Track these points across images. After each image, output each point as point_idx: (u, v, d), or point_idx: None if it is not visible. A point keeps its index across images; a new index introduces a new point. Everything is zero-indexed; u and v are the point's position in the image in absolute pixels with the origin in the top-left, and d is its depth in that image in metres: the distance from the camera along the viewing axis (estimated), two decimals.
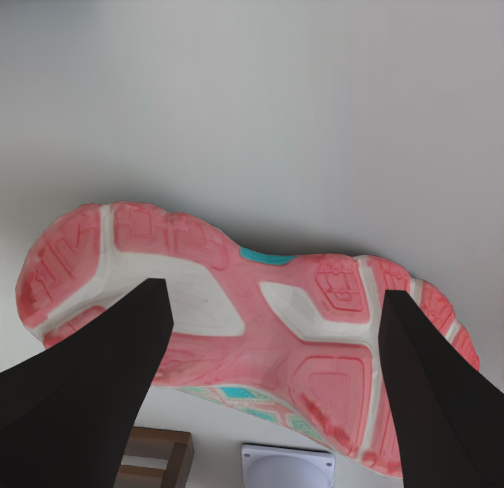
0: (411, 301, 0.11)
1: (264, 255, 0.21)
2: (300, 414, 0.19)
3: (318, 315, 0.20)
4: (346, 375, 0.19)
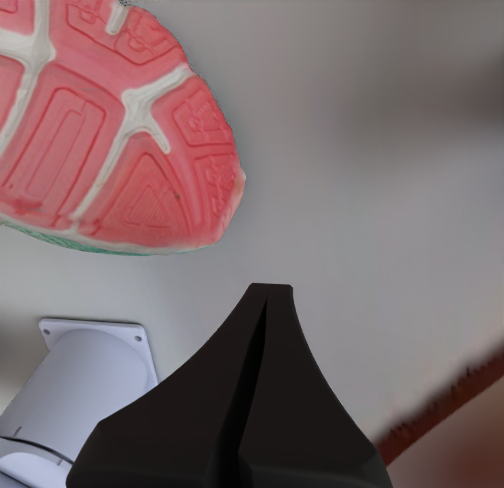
0: (287, 294, 0.12)
1: None
2: None
3: None
4: None
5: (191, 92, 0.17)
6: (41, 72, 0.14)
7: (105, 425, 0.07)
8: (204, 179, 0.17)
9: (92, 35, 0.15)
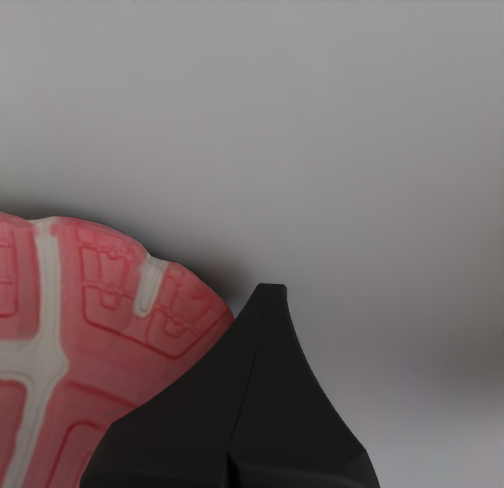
0: (280, 294, 0.12)
1: None
2: None
3: None
4: None
5: None
6: (50, 403, 0.11)
7: (118, 427, 0.07)
8: None
9: (117, 327, 0.12)
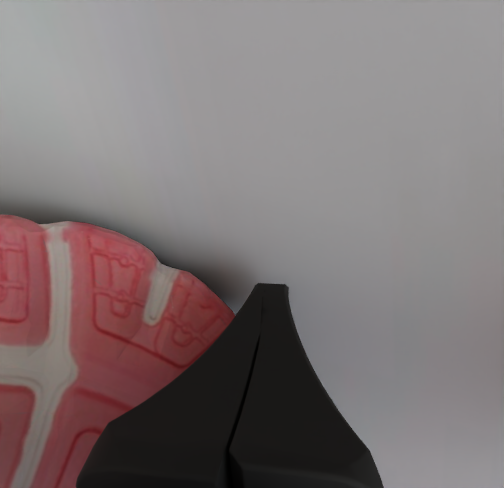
0: (282, 294, 0.12)
1: None
2: None
3: None
4: None
5: None
6: (58, 409, 0.11)
7: (115, 426, 0.07)
8: None
9: (126, 334, 0.12)
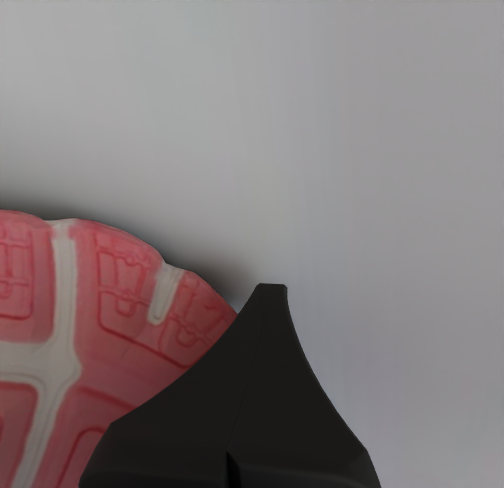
0: (281, 294, 0.12)
1: None
2: None
3: None
4: None
5: None
6: (62, 407, 0.11)
7: (118, 427, 0.07)
8: None
9: (130, 334, 0.12)
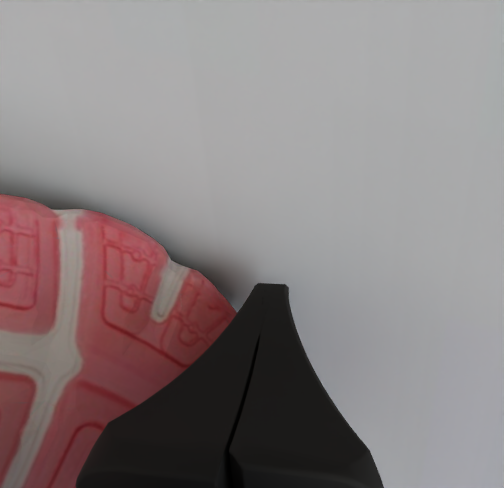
0: (282, 294, 0.12)
1: None
2: None
3: None
4: None
5: None
6: (60, 401, 0.10)
7: (115, 427, 0.07)
8: None
9: (133, 330, 0.11)
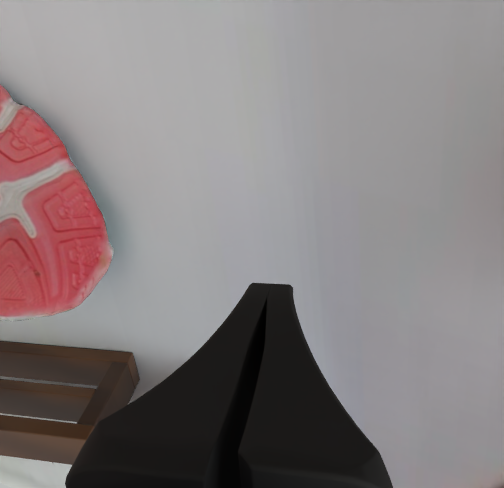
0: (287, 294, 0.12)
1: None
2: None
3: None
4: None
5: (65, 185, 0.20)
6: None
7: (105, 425, 0.07)
8: (67, 259, 0.20)
9: None
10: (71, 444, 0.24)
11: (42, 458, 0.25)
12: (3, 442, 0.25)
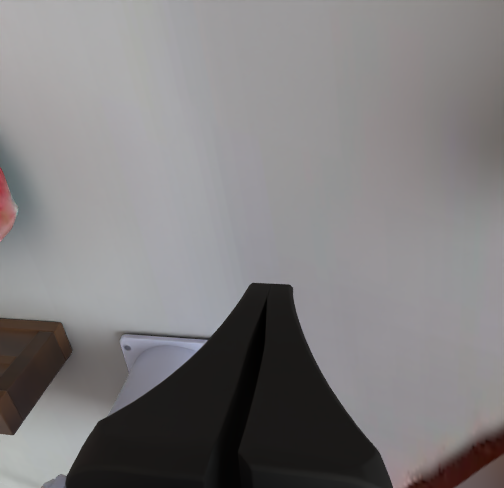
0: (287, 294, 0.12)
1: None
2: None
3: None
4: None
5: None
6: None
7: (105, 425, 0.07)
8: None
9: None
10: None
11: None
12: None
